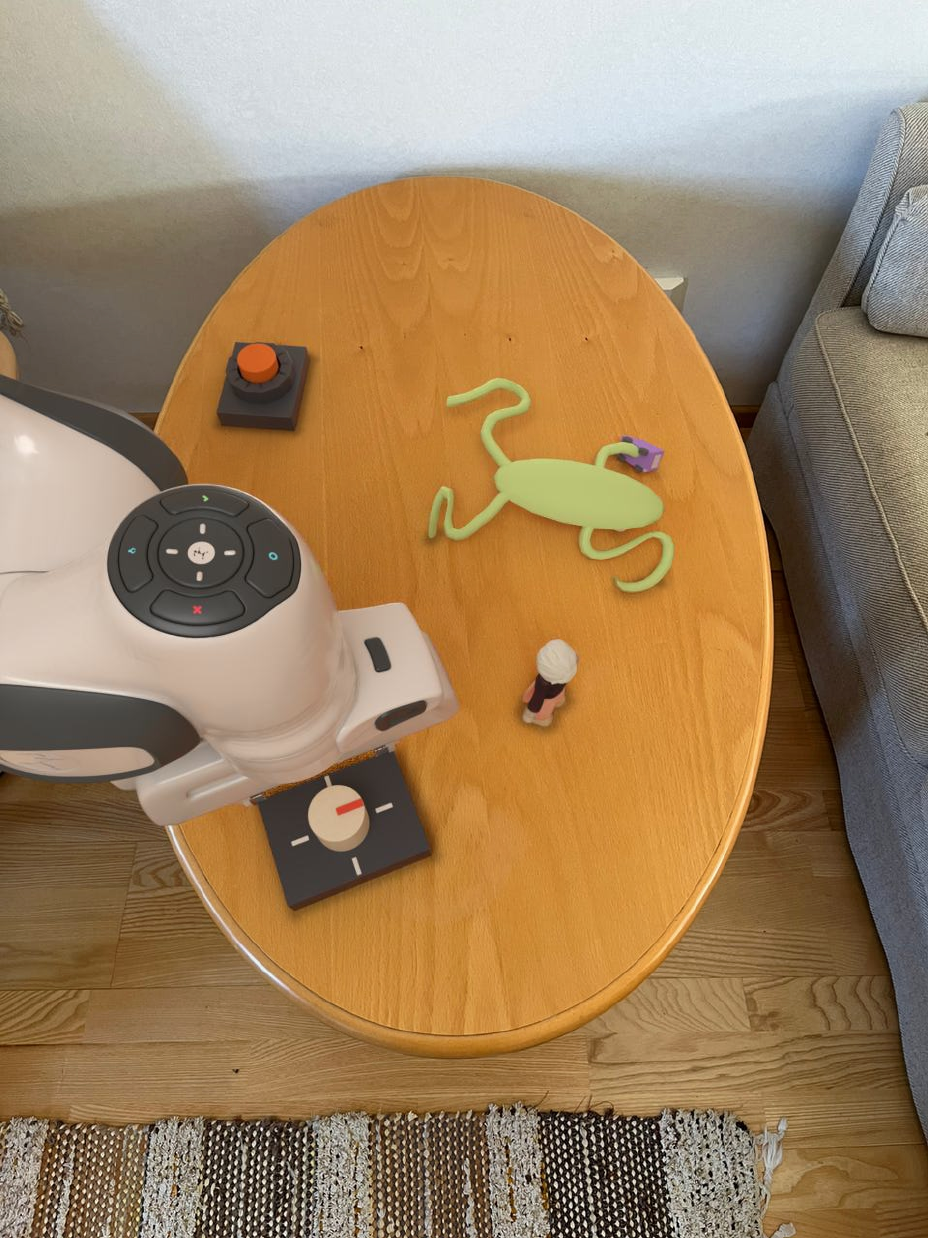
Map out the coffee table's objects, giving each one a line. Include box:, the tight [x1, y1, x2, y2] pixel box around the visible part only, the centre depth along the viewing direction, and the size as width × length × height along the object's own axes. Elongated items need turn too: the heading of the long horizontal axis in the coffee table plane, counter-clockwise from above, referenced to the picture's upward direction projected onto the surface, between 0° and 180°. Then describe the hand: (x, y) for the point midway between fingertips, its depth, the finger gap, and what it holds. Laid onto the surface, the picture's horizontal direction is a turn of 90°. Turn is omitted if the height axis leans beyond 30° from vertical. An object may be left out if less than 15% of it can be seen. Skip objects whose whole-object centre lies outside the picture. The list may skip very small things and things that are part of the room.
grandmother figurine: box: [521, 638, 580, 728], centre depth 71 cm, size 8×4×13 cm, turn 155°
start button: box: [237, 344, 278, 384], centre depth 88 cm, size 4×4×2 cm
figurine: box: [428, 377, 675, 594], centre depth 84 cm, size 18×27×6 cm
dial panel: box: [257, 751, 432, 912], centre depth 70 cm, size 12×9×3 cm
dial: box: [308, 785, 369, 852], centre depth 67 cm, size 4×4×4 cm
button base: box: [216, 341, 310, 432], centre depth 91 cm, size 10×8×4 cm
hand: (319, 768), depth 59 cm, fingers open, 8 cm apart
